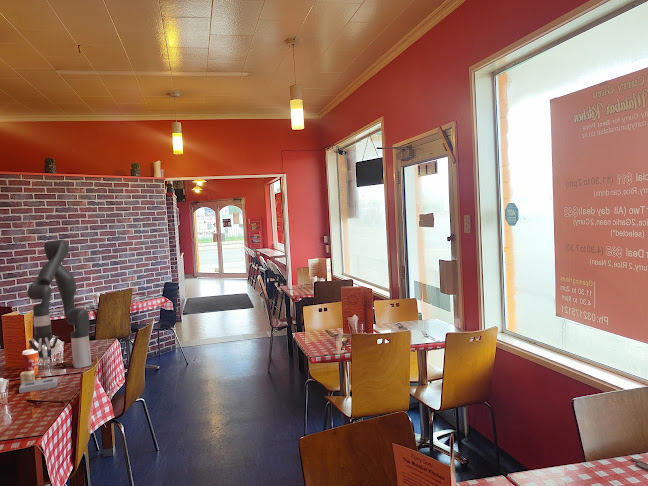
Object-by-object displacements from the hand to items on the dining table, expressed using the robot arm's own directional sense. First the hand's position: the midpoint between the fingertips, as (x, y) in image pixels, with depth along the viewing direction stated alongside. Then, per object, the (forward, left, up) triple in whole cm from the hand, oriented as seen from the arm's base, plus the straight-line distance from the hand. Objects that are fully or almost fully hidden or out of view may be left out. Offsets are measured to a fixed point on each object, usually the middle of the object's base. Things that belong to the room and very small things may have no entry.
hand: (45, 357), depth 250 cm
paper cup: (+10, -27, -15) cm, 32 cm away
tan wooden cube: (+10, -10, -15) cm, 20 cm away
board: (+4, 0, -15) cm, 15 cm away
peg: (0, 0, -1) cm, 1 cm away
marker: (+6, -16, -15) cm, 23 cm away
